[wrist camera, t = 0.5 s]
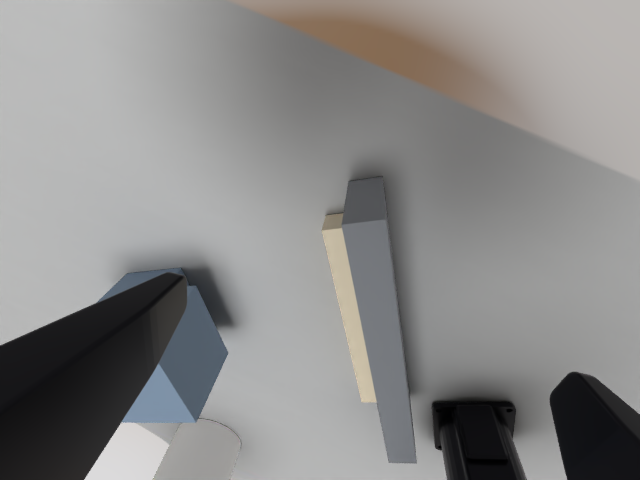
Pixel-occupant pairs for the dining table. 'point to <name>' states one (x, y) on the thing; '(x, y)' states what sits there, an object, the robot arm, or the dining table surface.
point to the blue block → (179, 361)
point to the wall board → (372, 309)
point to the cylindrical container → (200, 453)
